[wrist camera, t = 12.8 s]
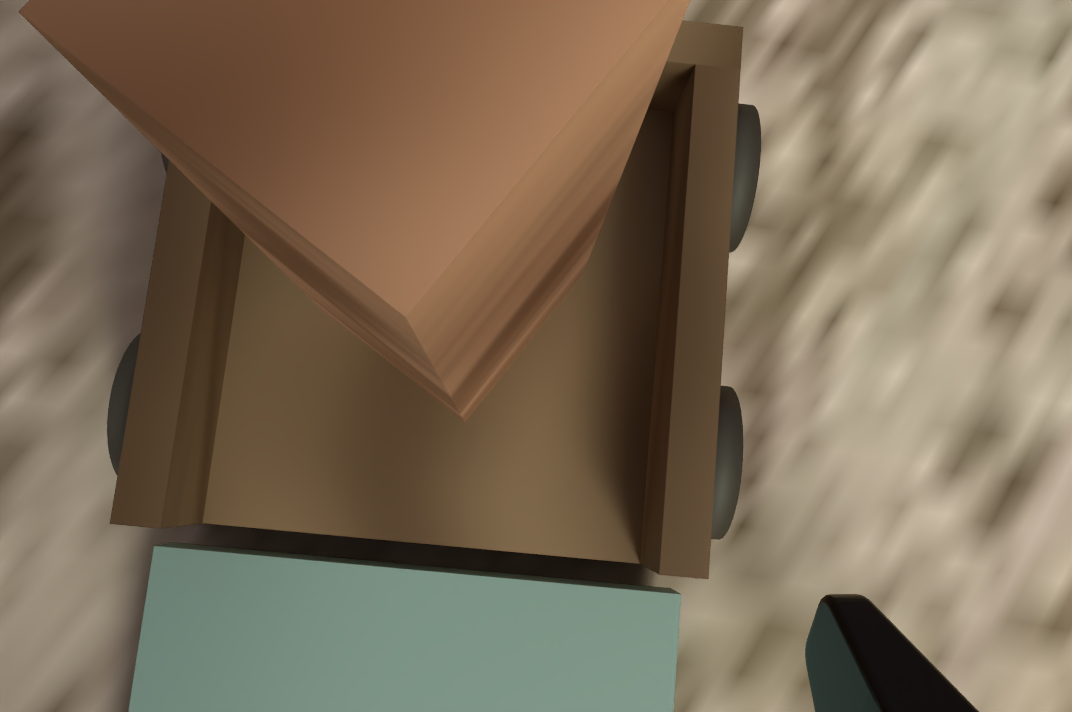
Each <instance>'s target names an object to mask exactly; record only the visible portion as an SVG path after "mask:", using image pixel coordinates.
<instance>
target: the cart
mask: <svg viewBox="0 0 1072 712" xmlns="http://www.w3.org/2000/svg"><path fill="white" fill-rule="evenodd" d="M742 37H743V27H738V26H729V25H720V24H710V23H701V22H692V21H683V20H682V23H681V25H680V28H679V30H678V33H677V35H676V38H675V40H674V43H673V46H672V48H671V51H670V53H669V56H668V58H667V61H666V63H665V66H664V69H663V71H662V74H661V76H660V79H659V81H658V84H657V86H656V89H655V91H654V94H653V97H652V99H651V102H650V104H649V107H648V109H647V112H646V114H645V117H644V119H643V122H642V125H641V127H640V130H639V132H638V135H637V137H636V140H635V142H634V145H633V148H632V150H631V153H630V155H629V158H628V160H627V163H626V165H625V168H624V170H623V173H622V176H621V178H620V181H619V183H618V186H617V188H616V191H615V193H614V196H613V198H612V201H611V204H610V206H609V209H608V211H607V214H606V216H605V219H604V221H603V224H602V227H601V229H600V232H599V234H598V237H597V239H596V242H595V244H594V247H593V249H592V252H591V255H590V257H589V260H588V262H587V265H586V267H585V270H584V272H583V275H582V276H581V278H580V279H579V280H578V281H577V283H576V284H575V285H574V286H573V288H572V289H571V290H570V291H569V293H568V294H567V295H566V296H565V298H564V299H563V300H562V301H561V303H560V304H559V305H558V306H557V308H556V309H555V310H554V311H553V313H552V314H551V315H550V316H549V318H548V319H547V320H546V321H545V323H544V324H543V325H542V326H541V328H540V329H539V330H538V331H537V333H536V334H535V335H534V336H533V338H532V339H531V340H530V341H529V343H528V344H527V345H526V346H525V348H524V349H523V350H522V351H521V353H520V354H519V355H518V356H517V358H516V359H515V360H514V361H513V363H512V364H511V365H510V366H509V368H508V369H507V370H506V371H505V373H504V374H503V375H502V376H501V378H500V379H499V380H498V381H497V383H496V384H495V385H494V386H493V388H492V389H491V390H490V391H489V393H488V394H487V395H486V396H485V398H484V399H483V400H482V401H481V403H480V404H479V405H478V406H477V408H476V409H475V410H474V411H473V413H472V414H471V415H470V416H469V418H468V419H467V420H466V421H465V422H464V421H462V420H461V419H460V418H459V417H457V416H456V415H455V414H454V413H452V412H451V411H450V410H449V409H447V408H446V407H445V406H444V405H442V404H441V403H440V402H439V401H437V400H436V399H435V398H433V397H432V396H431V395H430V394H428V393H427V392H426V391H425V390H423V389H422V388H421V387H420V386H418V385H417V384H416V383H415V382H413V381H412V380H411V379H410V378H408V377H407V376H406V375H405V374H403V373H402V372H401V371H399V370H398V369H397V368H396V367H394V366H393V365H392V364H391V363H389V362H388V361H387V360H386V359H384V358H383V357H382V356H381V355H379V354H378V353H377V352H376V351H374V350H373V349H372V348H370V347H369V346H368V345H367V344H365V343H364V342H363V341H362V340H360V339H359V338H358V337H357V336H355V335H354V334H353V333H352V332H350V331H349V330H348V329H347V328H345V327H344V326H343V325H342V324H340V323H339V322H338V321H336V320H335V319H334V318H333V317H331V316H330V315H329V314H328V313H326V312H325V311H324V310H323V309H321V308H320V307H319V306H318V305H316V304H315V303H314V302H313V301H312V300H311V299H310V298H309V297H308V296H307V295H306V294H305V293H304V292H303V291H302V290H301V289H300V288H299V287H298V286H297V285H296V284H295V283H294V282H293V281H292V280H291V279H290V278H289V277H288V276H287V275H286V274H285V273H284V272H283V271H282V270H281V269H280V268H279V267H278V266H277V265H276V264H275V263H274V262H272V261H271V260H270V259H269V258H268V257H267V256H266V255H265V254H264V253H263V252H262V251H261V250H260V249H259V248H258V247H257V246H256V245H255V244H254V243H253V242H252V241H251V240H250V239H249V238H248V237H247V236H246V235H245V234H244V233H243V232H242V231H241V230H240V229H239V228H238V227H237V226H236V225H235V224H234V223H233V222H232V221H231V220H230V219H229V218H228V217H227V216H226V215H225V214H224V213H223V212H222V211H221V210H220V209H219V208H218V207H217V206H216V205H214V204H213V203H212V202H211V201H210V200H209V199H208V198H207V197H206V196H205V195H204V194H203V193H202V192H201V191H200V190H199V189H198V188H197V187H196V186H195V185H194V184H193V183H192V182H191V181H190V180H189V179H188V178H187V177H186V176H185V175H184V174H183V173H182V172H181V171H180V170H179V169H178V168H177V167H176V166H175V165H174V164H173V163H172V162H171V161H170V160H169V159H168V158H167V157H166V156H165V155H164V154H163V153H162V152H161V153H162V158H163V163H164V166H165V170H166V173H167V176H166V182H165V188H164V194H163V200H162V206H161V212H160V219H159V225H158V231H157V237H156V243H155V249H154V255H153V262H152V268H151V274H150V280H149V286H148V292H147V298H146V305H145V311H144V317H143V323H142V329H141V333H140V334H139V335H138V336H137V337H136V338H134V340H133V341H132V342H131V343H130V345H129V346H128V348H127V350H126V351H125V353H124V355H123V357H122V359H121V362H120V364H119V367H118V369H117V372H116V375H115V379H114V382H113V386H112V391H111V396H110V402H109V409H108V421H107V436H108V448H109V454H110V459H111V462H112V465H113V468H114V470H115V472H116V474H117V476H118V477H117V483H116V489H115V495H114V501H113V507H112V513H111V520H110V524H117V525H128V526H139V527H150V528H168V527H176V526H184V525H192V524H200V523H206V524H217V525H228V526H239V527H250V528H260V529H271V530H282V531H293V532H303V533H314V534H325V535H336V536H347V537H357V538H368V539H379V540H390V541H401V542H411V543H422V544H433V545H444V546H454V547H465V548H476V549H487V550H498V551H508V552H519V553H530V554H541V555H551V556H562V557H573V558H584V559H595V560H605V561H616V562H627V563H638V564H641V565H643V566H645V567H647V568H648V569H650V570H652V571H654V572H656V573H657V574H659V575H669V576H680V577H690V578H701V579H708V578H709V562H710V546H711V539H721V538H723V537H724V536H725V534H726V533H727V531H728V529H729V527H730V525H731V522H732V519H733V516H734V513H735V509H736V505H737V500H738V495H739V489H740V483H741V474H742V462H743V425H742V415H741V409H740V404H739V400H738V397H737V394H736V392H735V391H734V389H733V388H732V387H728V386H721V371H722V355H723V339H724V323H725V307H726V291H727V275H728V259H729V252H733V251H734V250H735V249H736V248H737V247H738V245H739V244H740V242H741V240H742V238H743V236H744V233H745V231H746V228H747V225H748V222H749V218H750V215H751V211H752V207H753V203H754V198H755V193H756V188H757V182H758V175H759V166H760V154H761V127H760V119H759V114H758V111H757V109H756V107H755V106H753V105H746V104H738V100H739V85H740V69H741V53H742Z"/></svg>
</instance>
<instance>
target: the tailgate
mask: <svg viewBox="0 0 1072 712" xmlns="http://www.w3.org/2000/svg"><path fill="white" fill-rule="evenodd" d="M680 605H681V594H680V593H678V592H676V591H675V590H673V589H671V588H662V587H651V586H640V585H629V584H618V583H608V582H597V581H586V580H575V579H564V578H553V577H542V576H532V575H521V574H510V573H499V572H488V571H477V570H466V569H456V568H445V567H434V566H423V565H412V564H401V563H390V562H380V561H369V560H358V559H347V558H336V557H325V556H314V555H304V554H293V553H282V552H271V551H260V550H249V549H238V548H228V547H217V546H206V545H195V544H184V543H168V544H162V545H157V546H154V549H153V555H152V562H151V568H150V575H149V581H148V588H147V594H146V601H145V607H144V614H143V620H142V626H141V633H140V639H139V646H138V652H137V659H136V665H135V672H134V678H133V685H132V691H131V697H130V704H129V710H128V712H673V709H674V694H675V679H676V664H677V649H678V634H679V620H680Z"/></svg>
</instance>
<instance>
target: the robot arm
mask: <svg viewBox="0 0 1072 712" xmlns="http://www.w3.org/2000/svg"><path fill="white" fill-rule="evenodd" d="M805 657H806V666H807V672H808V677H809V682H810V687H811V692H812V698H813V703H814V708H815V712H979V711H978V710H977V709H976V708H975V707H974V706H973V705H972V704H971V703H970V702H969V701H968V700H967V699H966V698H965V697H964V696H963V695H962V694H961V693H960V692H959V691H958V690H957V689H956V688H955V687H954V686H953V685H952V684H951V683H950V682H949V681H948V680H947V679H946V678H945V677H944V676H943V674H942V673H941V672H940V671H939V670H938V669H937V668H936V667H935V666H934V665H933V664H932V663H931V662H930V661H929V660H928V659H927V658H926V657H925V656H924V655H923V654H922V653H921V652H920V651H919V650H918V649H917V648H916V647H915V646H914V645H913V644H912V643H911V642H910V641H909V640H908V639H907V638H906V637H905V636H904V635H903V634H902V633H901V632H900V631H899V629H898V628H897V627H896V626H895V625H894V624H893V623H892V622H891V621H890V620H889V619H888V618H887V617H886V616H885V615H884V614H883V613H882V612H881V611H880V610H879V609H878V608H877V607H876V606H875V605H874V604H873V603H872V602H871V601H870V600H869V599H867V598H866V597H864V596H862V595H858V594H830V595H826V596H824V597H823V598H822V599H821V601H820V603H819V605H818V608H817V611H816V614H815V617H814V620H813V623H812V626H811V629H810V632H809V635H808V638H807V642H806V649H805Z"/></svg>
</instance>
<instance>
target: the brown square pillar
mask: <svg viewBox="0 0 1072 712" xmlns="http://www.w3.org/2000/svg"><path fill="white" fill-rule="evenodd" d="M689 2H690V0H29V2H28V3H27V4H26V5H25V6H24V7H23V8H22V9H21V10H20V11H19V13H20V14H21V15H22V16H23V17H24V18H25V19H26V20H27V21H28V22H29V23H30V24H31V25H32V26H33V27H34V28H35V29H36V30H37V31H39V32H40V33H41V34H42V35H43V36H44V37H45V38H46V39H47V40H48V41H49V42H50V43H51V44H52V45H53V46H54V47H55V48H56V49H57V50H58V51H59V52H60V53H61V54H62V55H63V56H64V57H65V58H66V59H67V60H68V61H69V62H70V63H71V64H72V65H73V66H74V67H75V68H76V69H77V70H78V71H79V72H80V73H81V74H82V75H83V76H84V77H85V78H86V79H87V80H88V81H89V82H90V83H91V84H92V85H93V86H94V87H95V88H96V89H98V90H99V91H100V92H101V93H102V94H103V95H104V96H105V97H106V98H107V99H108V100H109V101H110V102H111V103H112V104H113V105H114V106H115V107H116V108H117V109H118V110H119V111H120V112H121V113H122V114H123V115H124V116H125V117H126V118H127V119H128V120H129V121H130V122H131V123H132V124H133V125H134V126H135V127H136V128H137V129H138V130H139V131H140V132H141V133H142V134H143V135H144V136H145V137H146V138H147V139H148V140H149V141H150V142H151V143H152V144H153V145H154V146H155V147H157V148H158V149H159V150H160V151H161V152H162V153H163V154H164V155H165V156H166V157H167V158H168V159H169V160H170V161H171V162H172V163H173V164H174V165H175V166H176V167H177V168H178V169H179V170H180V171H181V172H182V173H183V174H184V175H185V176H186V177H187V178H188V179H189V180H190V181H191V182H192V183H193V184H194V185H195V186H196V187H197V188H198V189H199V190H200V191H201V192H202V193H203V194H204V195H205V196H206V197H207V198H208V199H209V200H210V201H211V202H212V203H213V204H214V205H216V206H217V207H218V208H219V209H220V210H221V211H222V212H223V213H224V214H225V215H226V216H227V217H228V218H229V219H230V220H231V221H232V222H233V223H234V224H235V225H236V226H237V227H238V228H239V229H240V230H241V231H242V232H243V233H244V234H245V235H246V236H247V237H248V238H249V239H250V240H251V241H252V242H253V243H254V244H255V245H256V246H257V247H258V248H259V249H260V250H261V251H262V252H263V253H264V254H265V255H266V256H267V257H268V258H269V259H270V260H271V261H272V262H274V263H275V264H276V265H277V266H278V267H279V268H280V269H281V270H282V271H283V272H284V273H285V274H286V275H287V276H288V277H289V278H290V279H291V280H292V281H293V282H294V283H295V284H296V285H297V286H298V287H299V288H300V289H301V290H302V291H303V292H304V293H305V294H306V295H307V296H308V297H309V298H310V299H311V300H312V301H313V302H314V303H315V304H316V305H318V306H319V307H320V308H321V309H323V310H324V311H325V312H326V313H328V314H329V315H330V316H331V317H333V318H334V319H335V320H336V321H338V322H339V323H340V324H342V325H343V326H344V327H345V328H347V329H348V330H349V331H350V332H352V333H353V334H354V335H355V336H357V337H358V338H359V339H360V340H362V341H363V342H364V343H365V344H367V345H368V346H369V347H370V348H372V349H373V350H374V351H376V352H377V353H378V354H379V355H381V356H382V357H383V358H384V359H386V360H387V361H388V362H389V363H391V364H392V365H393V366H394V367H396V368H397V369H398V370H399V371H401V372H402V373H403V374H405V375H406V376H407V377H408V378H410V379H411V380H412V381H413V382H415V383H416V384H417V385H418V386H420V387H421V388H422V389H423V390H425V391H426V392H427V393H428V394H430V395H431V396H432V397H433V398H435V399H436V400H437V401H439V402H440V403H441V404H442V405H444V406H445V407H446V408H447V409H449V410H450V411H451V412H452V413H454V414H455V415H456V416H457V417H459V418H460V419H461V420H462V421H464V422H465V421H466V420H467V419H468V418H469V416H470V415H471V414H472V413H473V411H474V410H475V409H476V408H477V406H478V405H479V404H480V403H481V401H482V400H483V399H484V398H485V396H486V395H487V394H488V393H489V391H490V390H491V389H492V388H493V386H494V385H495V384H496V383H497V381H498V380H499V379H500V378H501V376H502V375H503V374H504V373H505V371H506V370H507V369H508V368H509V366H510V365H511V364H512V363H513V361H514V360H515V359H516V358H517V356H518V355H519V354H520V353H521V351H522V350H523V349H524V348H525V346H526V345H527V344H528V343H529V341H530V340H531V339H532V338H533V336H534V335H535V334H536V333H537V331H538V330H539V329H540V328H541V326H542V325H543V324H544V323H545V321H546V320H547V319H548V318H549V316H550V315H551V314H552V313H553V311H554V310H555V309H556V308H557V306H558V305H559V304H560V303H561V301H562V300H563V299H564V298H565V296H566V295H567V294H568V293H569V291H570V290H571V289H572V288H573V286H574V285H575V284H576V283H577V281H578V280H579V279H580V278H581V276H582V275H583V272H584V270H585V267H586V265H587V262H588V260H589V257H590V255H591V252H592V249H593V247H594V244H595V242H596V239H597V237H598V234H599V232H600V229H601V227H602V224H603V221H604V219H605V216H606V214H607V211H608V209H609V206H610V204H611V201H612V198H613V196H614V193H615V191H616V188H617V186H618V183H619V181H620V178H621V176H622V173H623V170H624V168H625V165H626V163H627V160H628V158H629V155H630V153H631V150H632V148H633V145H634V142H635V140H636V137H637V135H638V132H639V130H640V127H641V125H642V122H643V119H644V117H645V114H646V112H647V109H648V107H649V104H650V102H651V99H652V97H653V94H654V91H655V89H656V86H657V84H658V81H659V79H660V76H661V74H662V71H663V69H664V66H665V63H666V61H667V58H668V56H669V53H670V51H671V48H672V46H673V43H674V40H675V38H676V35H677V33H678V30H679V28H680V25H681V23H682V20H683V18H684V15H685V12H686V10H687V7H688V5H689Z"/></svg>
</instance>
